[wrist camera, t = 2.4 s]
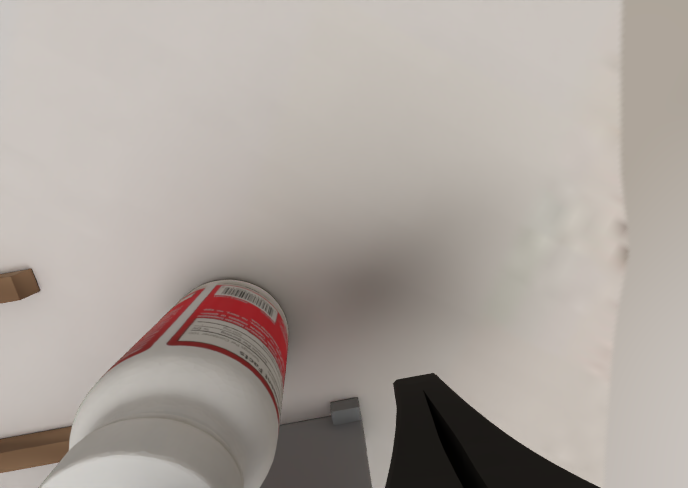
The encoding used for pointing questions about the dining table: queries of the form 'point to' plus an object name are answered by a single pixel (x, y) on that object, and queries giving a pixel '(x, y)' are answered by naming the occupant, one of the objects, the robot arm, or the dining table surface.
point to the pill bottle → (187, 399)
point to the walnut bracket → (36, 445)
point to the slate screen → (322, 452)
